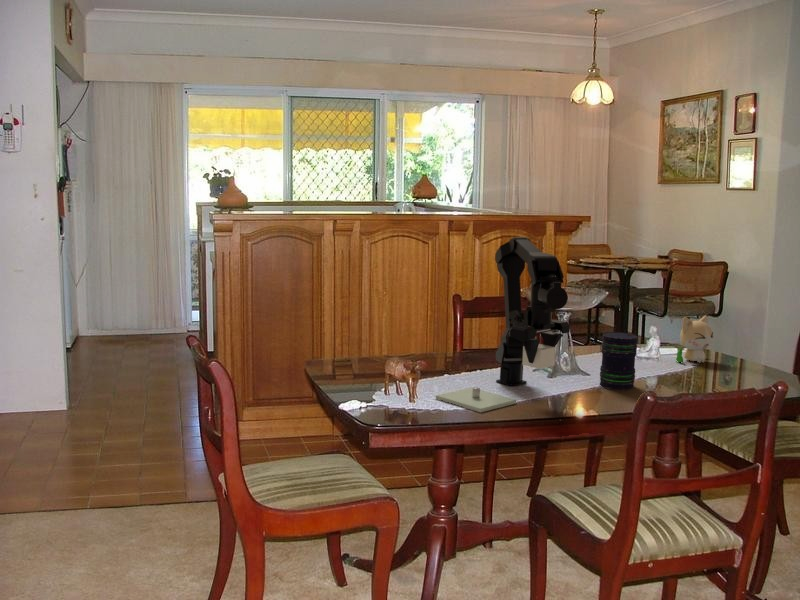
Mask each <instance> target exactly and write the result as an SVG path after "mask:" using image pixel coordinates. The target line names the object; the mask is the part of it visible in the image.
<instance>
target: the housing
mask: <svg viewBox="0 0 800 600" xmlns="http://www.w3.org/2000/svg"><path fill="white" fill-rule="evenodd" d="M555 362H556V346H555V347H552V346H547V345H543V343H539V345H538V348H537V352H536V356H535V359H534V362H533V363H529V361H528V358H527V354H526V351H525V348H524V346H523V361H522V365H523V366H526V367H530V368H535V369H539V370H540V369H541V370H542V369H546V368H550V367H554V366H555V364H556V363H555Z"/></svg>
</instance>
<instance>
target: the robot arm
mask: <svg viewBox="0 0 800 600" xmlns="http://www.w3.org/2000/svg"><path fill="white" fill-rule="evenodd" d="M494 254H495V256H494V260H495V264H496V267H497V271H498V273H499V274H500V276H501V277H502V279H503V290H504V291H503V294H504V312H505V313H504V314H505V315H504V316H505V329H504V331H503V333H502V334H501V335H502V336H501V337H500V344H499V346H498V348H497V350H496V352H495V360H496V362H498V363H499V364H500V368H499V369H500V370H499V372H500V373H499V379H496V380H495V382H496V383H499V384H504V385H507V386H510V387H515V386H519V385H524V384H526V383H527V380H524V379H523V378H524V376H523V375H524V365H522V361H523V346H524V348H525V351H526V354H527V358H528V361H529V363H533V362H534V359H535V356H536V352H537V348H538V345H539V344H540V340H541V339H540V338H537V334H540V336H541V338H542V341H543V342H542V345H547V346H552V347H555V348H556V347H557V345H558V343H559V342H560V340H561V338H562V337H564V334H567V333H570V332H571V330H570V328H571V324H569V322H568V321H564V320H558V319H553V317H552V316H553V313H556V310H561V309H562V308H564V307H565V306H566V305H567V303H568V299H569V295H568V293H567V291H566V289H565V288H564V287H562V284H564V273H563V270H562V268H561V265H560V261H559V260H558V258H557V257H556V255H553V254H551V253H547V252H542V251H541V250H540V249H539V248H538V247H537V246H535V244H533V242H531V239H530V238H529V237H527V236H513V237H511V238H510V239H509V241H507V242H505V243H503V244H501V245H500V246H499V247H498V249H497V250H496V252H495V253H494ZM526 264H527V266H526ZM525 268H526V270H527V272H528V274H529V277H530V281H529V283H530V285H531V286H530V289H531V290H530V303H529V304H530V305H527V306H526V308H525V311H524V312H522V311H523V308H522V307H523V306H522V292H521V290H522V289H521V276H522V274H523V273H524V270H525ZM560 332H561V333H560Z"/></svg>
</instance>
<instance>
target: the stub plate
mask: <svg viewBox="0 0 800 600" xmlns="http://www.w3.org/2000/svg"><path fill="white" fill-rule="evenodd" d="M435 399H436V400H438V399H439V400H438V401H441V400H443V401H442V402H444V401H446V402H445V403H447V402H449V403H448V404H451V403H453V404H452V405H454V404H456V405H455V406H457V405H459V406H458V407H461V406H462V407H461V408H465V409H468V410H471V411H473V412H474V411H475V412H478V413H484V412H488V411H491V410H496V409H500V408H503V407H507V406H511V405H515V404H517V399H516V398H512V397H508V396H504V395H502V394H498V393H493V392H490V391H488V390H487V391H486V390H484V389H481V388H480V387H479V386H478V387H475V386H474V387H472V386H470V387H466V388H462V389H457V390H454V391H449V392H445V393H441V394H436V395H435Z"/></svg>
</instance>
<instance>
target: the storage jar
mask: <svg viewBox="0 0 800 600" xmlns="http://www.w3.org/2000/svg"><path fill="white" fill-rule="evenodd" d="M637 340H638V336H637V334H634V333H629V332H619V331H610V332H609V331H607V332H604V333H602V342H601V350H600V351H601V355H602V356H601V365H600V368H599V371H600V372H599V380H600V381H599V386H600V385H601V386H602V387H601V386H600V387H601V388H603V387H604V389H607V390H612V391H613V390H614V391H631V390H633V389H634V388H635V385H634V383H635V379H636V368H635V363H636V356H637V350H638V341H637Z"/></svg>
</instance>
